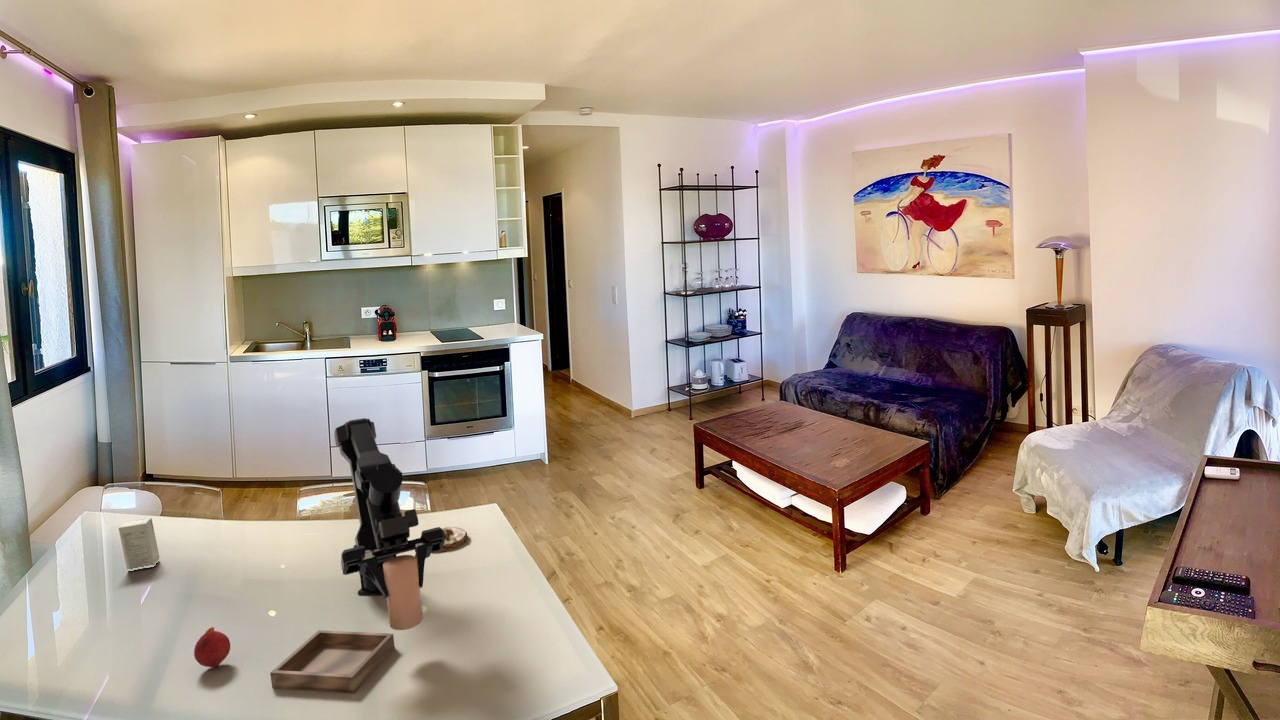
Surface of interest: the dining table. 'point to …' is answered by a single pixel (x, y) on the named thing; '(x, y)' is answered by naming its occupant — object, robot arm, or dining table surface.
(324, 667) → the box
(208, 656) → the onion
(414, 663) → the dining table surface
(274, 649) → the dining table surface
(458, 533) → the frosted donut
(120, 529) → the skincare box
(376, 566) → the robot arm
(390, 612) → the terracotta cylinder
